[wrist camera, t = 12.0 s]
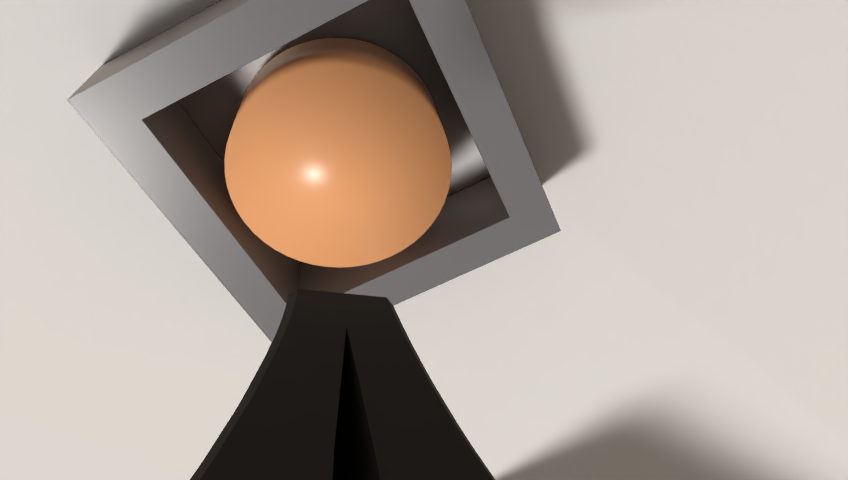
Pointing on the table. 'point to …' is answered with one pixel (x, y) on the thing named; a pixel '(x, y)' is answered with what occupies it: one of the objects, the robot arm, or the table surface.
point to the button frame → (205, 172)
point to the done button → (337, 154)
